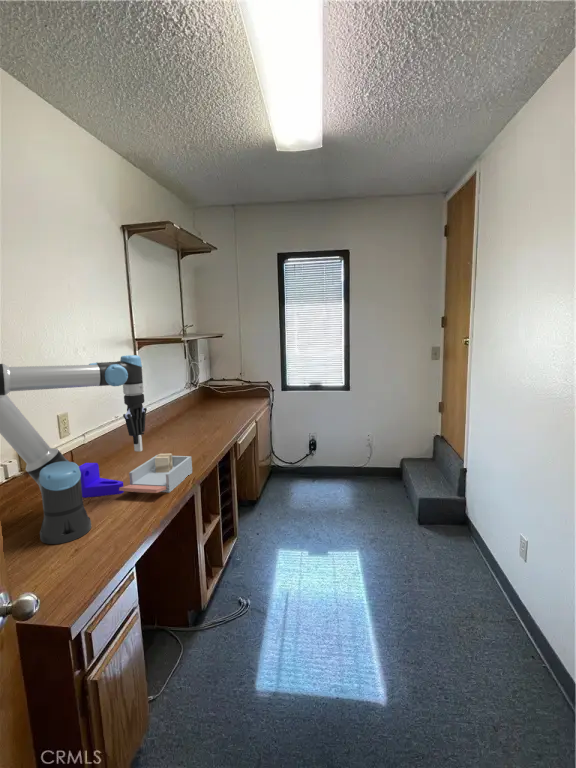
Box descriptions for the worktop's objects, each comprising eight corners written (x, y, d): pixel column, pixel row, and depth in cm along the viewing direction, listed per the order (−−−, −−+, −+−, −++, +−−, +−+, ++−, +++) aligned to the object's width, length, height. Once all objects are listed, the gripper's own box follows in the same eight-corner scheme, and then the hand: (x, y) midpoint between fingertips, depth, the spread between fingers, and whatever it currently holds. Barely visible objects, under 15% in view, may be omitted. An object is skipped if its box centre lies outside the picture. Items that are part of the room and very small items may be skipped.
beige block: (168, 472, 177) (167, 457, 176) (156, 472, 177) (154, 458, 176) (172, 467, 183) (171, 453, 182) (160, 467, 183) (159, 453, 182)
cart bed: (168, 494, 160) (167, 475, 159) (128, 491, 163) (126, 473, 162) (192, 472, 184) (191, 456, 183) (157, 470, 187) (155, 455, 186)
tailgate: (156, 493, 153) (156, 489, 153) (119, 491, 155) (119, 487, 156) (166, 490, 160) (166, 486, 161) (130, 488, 163) (130, 484, 163)
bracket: (75, 497, 159) (72, 470, 158) (90, 486, 170) (88, 461, 168) (116, 498, 158) (114, 470, 156) (129, 487, 168) (127, 461, 167)
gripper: (132, 396, 146) (137, 456, 150) (151, 391, 159) (155, 446, 162) (115, 396, 148) (120, 455, 151) (135, 391, 161) (139, 445, 164)
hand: (138, 450), depth 157 cm, fingers closed
